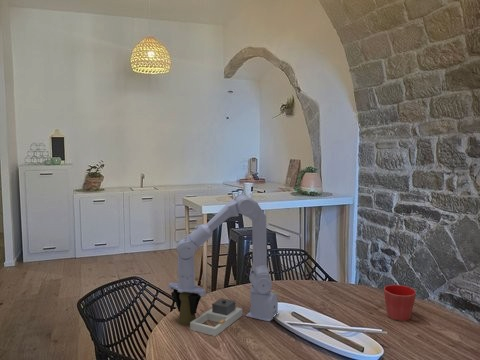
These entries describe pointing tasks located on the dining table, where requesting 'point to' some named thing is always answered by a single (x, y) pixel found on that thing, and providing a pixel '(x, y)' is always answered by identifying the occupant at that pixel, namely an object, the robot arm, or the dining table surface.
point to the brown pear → (185, 310)
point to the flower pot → (399, 301)
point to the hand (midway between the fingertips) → (187, 312)
